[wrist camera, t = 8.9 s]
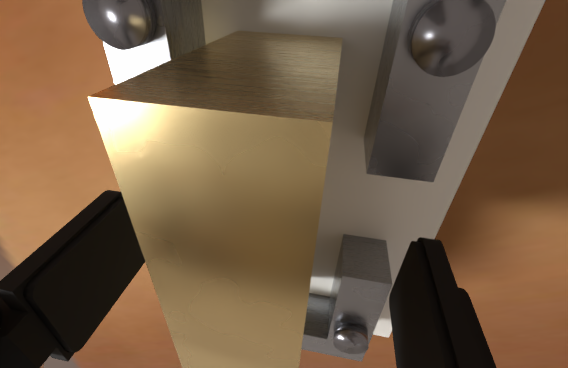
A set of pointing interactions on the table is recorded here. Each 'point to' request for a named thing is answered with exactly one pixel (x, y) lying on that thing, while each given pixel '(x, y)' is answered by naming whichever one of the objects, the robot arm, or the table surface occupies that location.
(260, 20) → the board
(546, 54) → the table surface
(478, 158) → the table surface
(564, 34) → the table surface
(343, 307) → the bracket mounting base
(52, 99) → the table surface
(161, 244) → the tall tan wooden block
